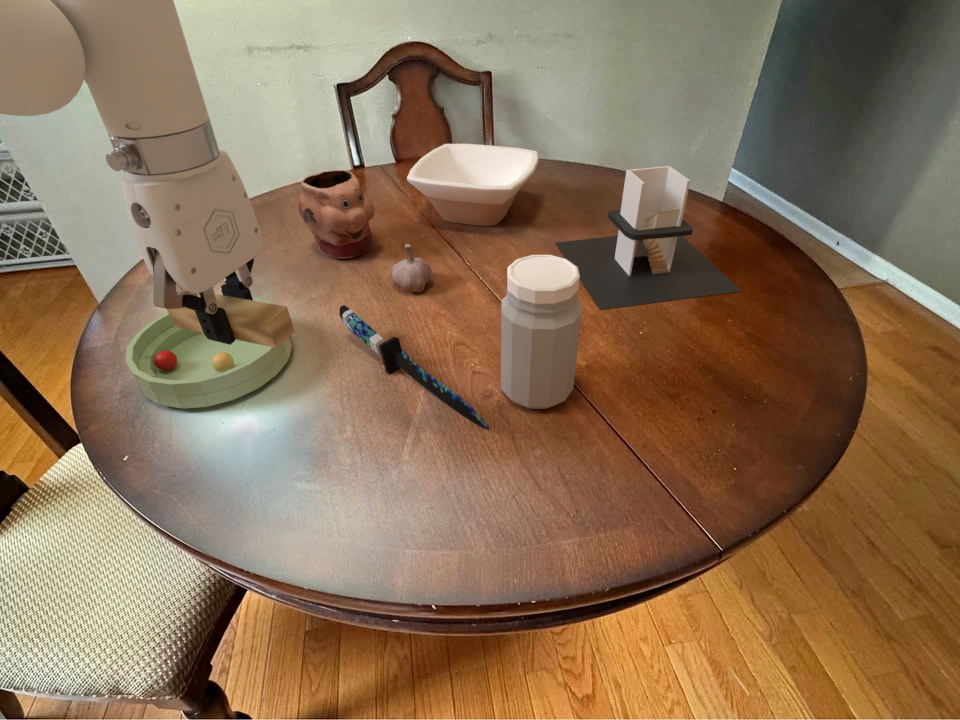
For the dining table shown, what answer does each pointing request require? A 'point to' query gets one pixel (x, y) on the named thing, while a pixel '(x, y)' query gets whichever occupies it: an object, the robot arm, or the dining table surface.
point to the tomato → (165, 360)
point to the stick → (244, 320)
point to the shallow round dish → (199, 365)
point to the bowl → (473, 180)
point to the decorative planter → (337, 213)
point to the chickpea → (222, 362)
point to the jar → (540, 331)
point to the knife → (406, 364)
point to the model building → (646, 248)
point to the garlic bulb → (411, 272)
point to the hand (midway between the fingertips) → (233, 328)
